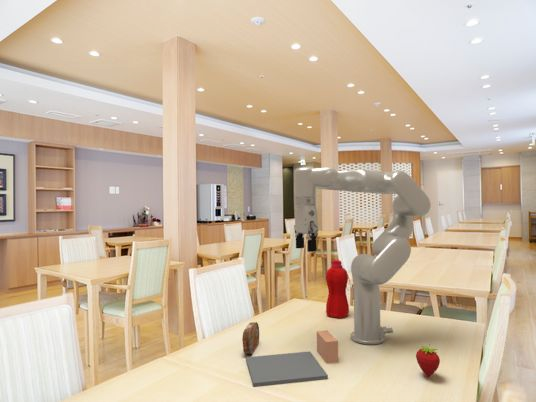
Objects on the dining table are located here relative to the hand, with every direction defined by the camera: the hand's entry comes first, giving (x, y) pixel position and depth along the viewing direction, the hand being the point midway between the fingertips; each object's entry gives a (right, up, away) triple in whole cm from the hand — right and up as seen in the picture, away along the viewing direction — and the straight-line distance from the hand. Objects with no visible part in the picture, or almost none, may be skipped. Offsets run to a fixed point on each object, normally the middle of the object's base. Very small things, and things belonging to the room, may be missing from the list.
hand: (305, 249), depth 135 cm
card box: (+6, -35, -10) cm, 36 cm away
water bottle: (+19, -35, +34) cm, 52 cm away
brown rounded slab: (-20, -35, -2) cm, 40 cm away
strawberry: (+33, -34, -25) cm, 54 cm away
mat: (-9, -35, -18) cm, 40 cm away
